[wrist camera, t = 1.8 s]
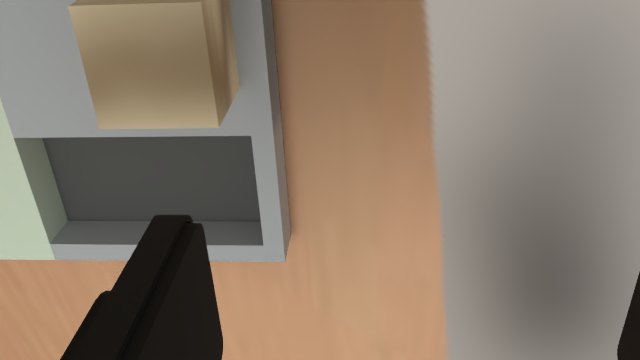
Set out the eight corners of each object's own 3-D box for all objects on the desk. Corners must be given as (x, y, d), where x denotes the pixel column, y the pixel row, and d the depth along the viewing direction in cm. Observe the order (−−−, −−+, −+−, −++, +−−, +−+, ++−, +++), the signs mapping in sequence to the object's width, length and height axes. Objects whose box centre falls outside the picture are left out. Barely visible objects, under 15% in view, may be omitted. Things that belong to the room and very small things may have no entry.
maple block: (113, -20, 23) (68, 6, 19) (226, -23, 22) (200, 2, 19) (136, 89, 25) (99, 129, 22) (239, 87, 25) (219, 127, 21)
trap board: (-242, -286, 21) (-377, -313, 17) (244, -323, 20) (214, -361, 16) (-27, 231, 33) (-80, 283, 29) (290, 232, 31) (280, 288, 27)
